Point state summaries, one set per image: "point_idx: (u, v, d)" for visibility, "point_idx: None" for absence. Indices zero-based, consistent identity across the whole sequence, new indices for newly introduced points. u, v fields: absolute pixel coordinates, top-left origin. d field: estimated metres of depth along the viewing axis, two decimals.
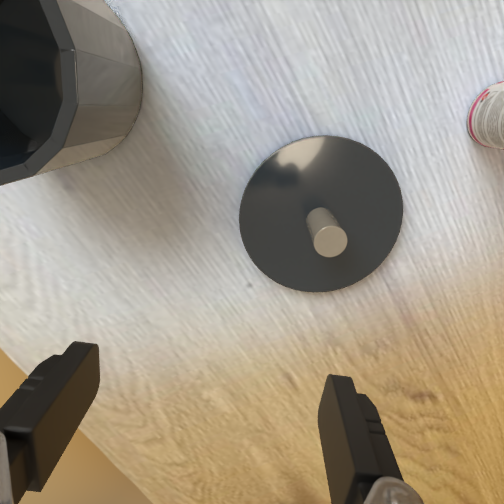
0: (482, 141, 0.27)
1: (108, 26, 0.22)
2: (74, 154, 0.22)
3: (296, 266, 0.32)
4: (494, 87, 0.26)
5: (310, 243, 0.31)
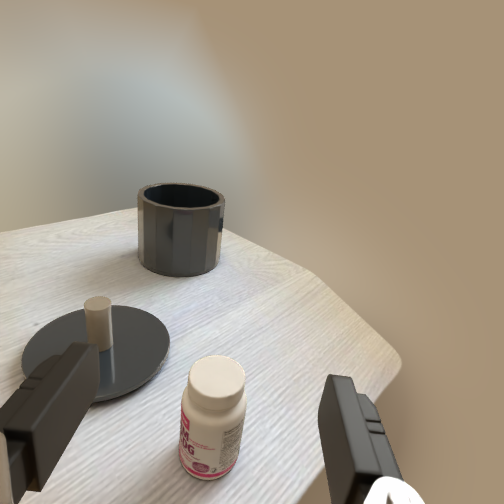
0: None
1: (204, 248, 0.52)
2: (150, 222, 0.49)
3: (56, 337, 0.36)
4: None
5: None
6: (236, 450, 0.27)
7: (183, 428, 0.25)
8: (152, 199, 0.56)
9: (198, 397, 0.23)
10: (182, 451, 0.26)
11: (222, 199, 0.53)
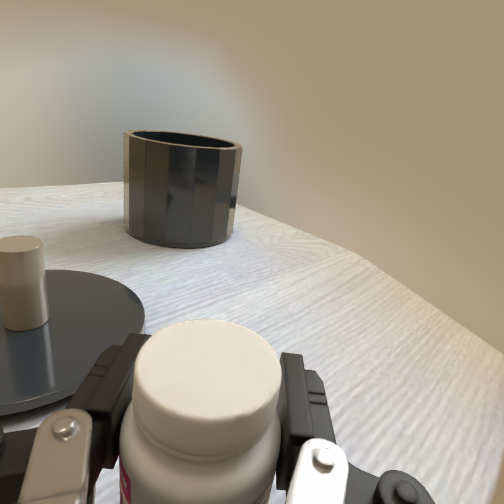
0: None
1: (211, 208, 0.37)
2: (137, 167, 0.35)
3: None
4: None
5: None
6: None
7: (122, 495, 0.10)
8: None
9: (152, 417, 0.08)
10: None
11: (238, 146, 0.39)
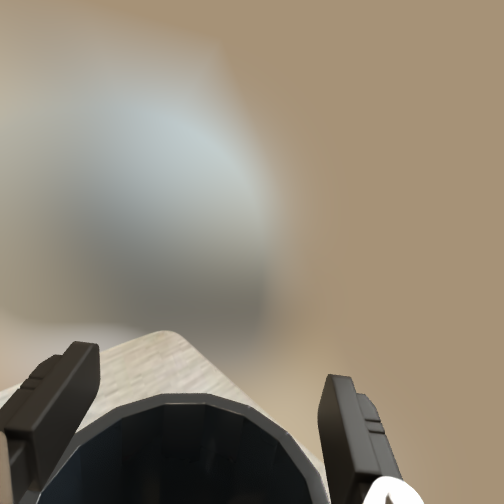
0: None
1: None
2: None
3: None
4: None
5: None
6: None
7: None
8: (88, 473, 0.17)
9: None
10: None
11: None
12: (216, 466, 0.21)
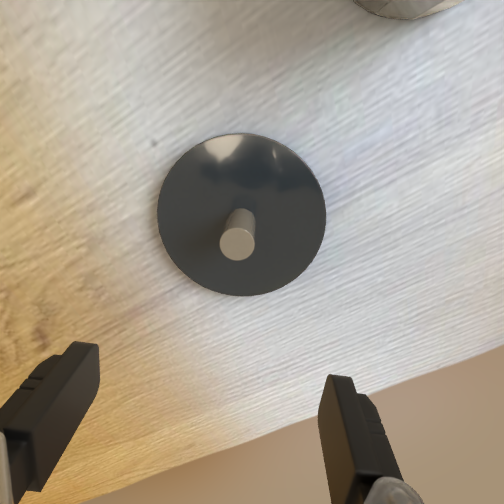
0: None
1: None
2: None
3: (187, 200, 0.28)
4: None
5: (215, 214, 0.29)
6: None
7: None
8: None
9: None
10: None
11: None
12: None
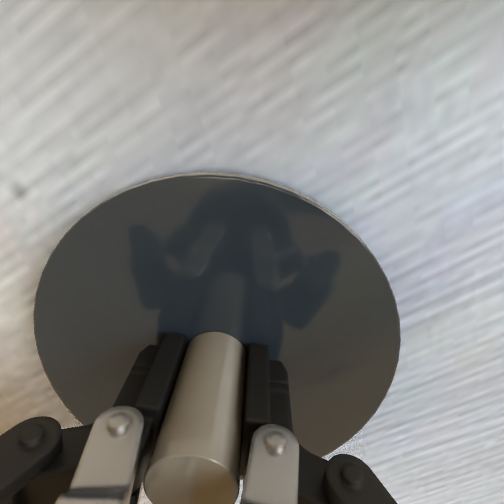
0: None
1: None
2: None
3: (97, 315, 0.13)
4: None
5: (160, 342, 0.13)
6: None
7: None
8: None
9: None
10: None
11: None
12: None
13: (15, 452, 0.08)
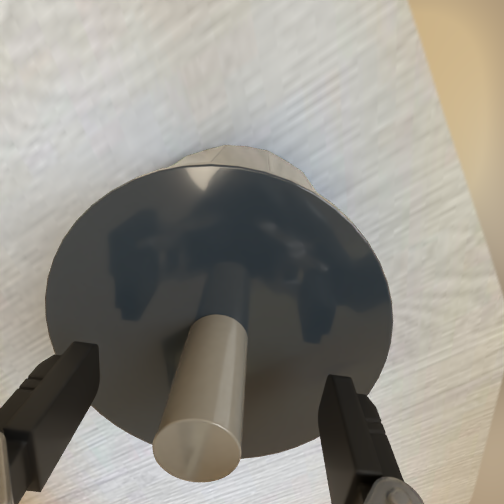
0: None
1: None
2: None
3: (105, 298, 0.14)
4: None
5: (165, 324, 0.14)
6: None
7: None
8: None
9: None
10: None
11: None
12: None
13: None
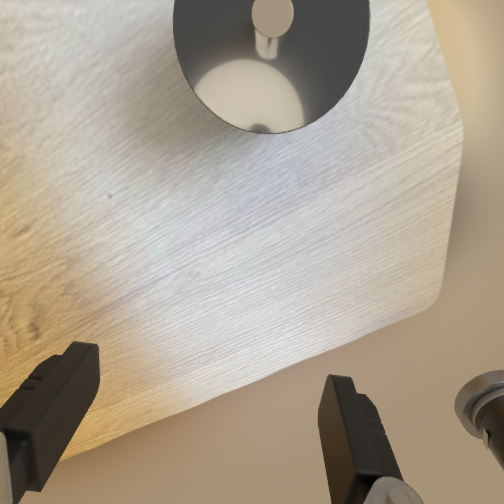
0: None
1: None
2: None
3: (208, 0, 0.24)
4: None
5: (241, 20, 0.25)
6: None
7: None
8: None
9: None
10: None
11: None
12: None
13: None
